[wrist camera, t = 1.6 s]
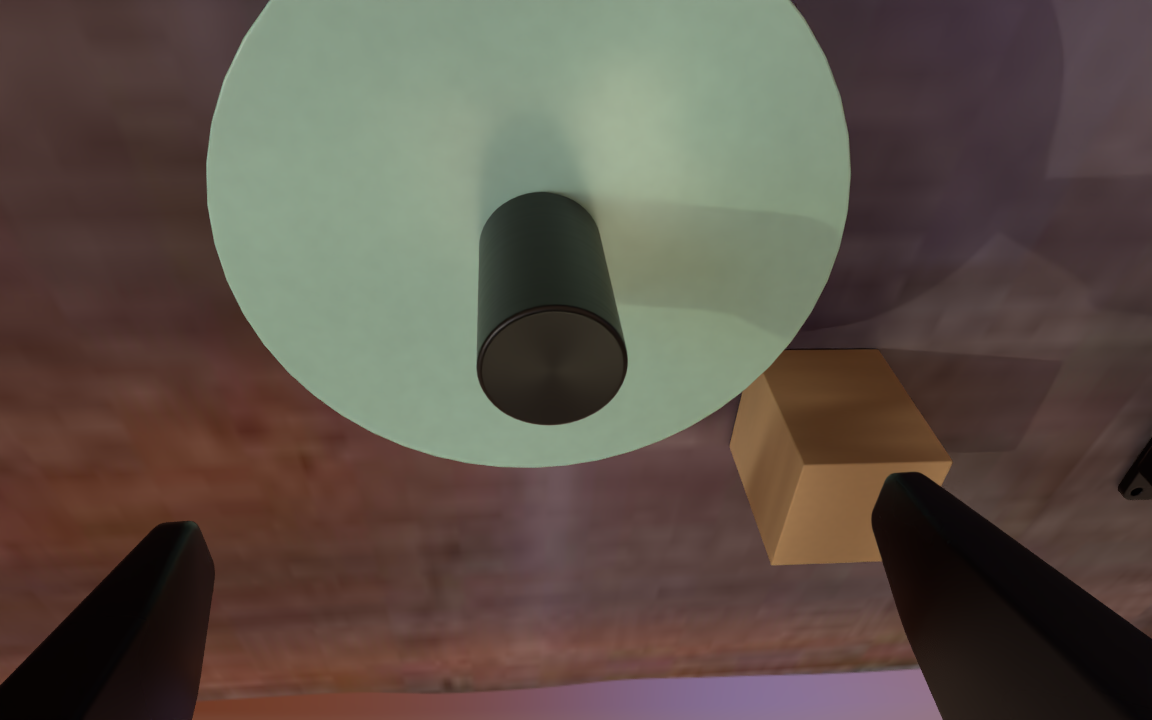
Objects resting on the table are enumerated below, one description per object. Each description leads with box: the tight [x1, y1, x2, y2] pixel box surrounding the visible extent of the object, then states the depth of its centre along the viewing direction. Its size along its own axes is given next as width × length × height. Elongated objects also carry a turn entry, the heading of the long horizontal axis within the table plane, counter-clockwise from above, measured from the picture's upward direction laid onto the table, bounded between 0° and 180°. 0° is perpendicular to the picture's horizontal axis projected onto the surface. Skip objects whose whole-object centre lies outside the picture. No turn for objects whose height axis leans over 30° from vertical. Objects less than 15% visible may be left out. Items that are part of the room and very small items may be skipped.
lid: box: [206, 0, 851, 468], centre depth 14 cm, size 12×12×5 cm
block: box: [730, 349, 953, 565], centre depth 26 cm, size 4×4×6 cm
